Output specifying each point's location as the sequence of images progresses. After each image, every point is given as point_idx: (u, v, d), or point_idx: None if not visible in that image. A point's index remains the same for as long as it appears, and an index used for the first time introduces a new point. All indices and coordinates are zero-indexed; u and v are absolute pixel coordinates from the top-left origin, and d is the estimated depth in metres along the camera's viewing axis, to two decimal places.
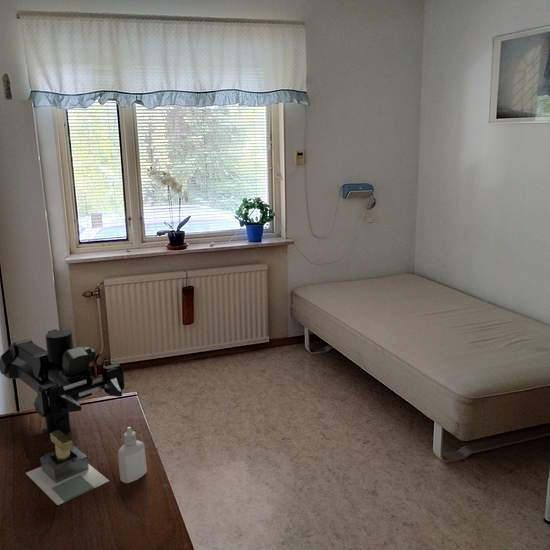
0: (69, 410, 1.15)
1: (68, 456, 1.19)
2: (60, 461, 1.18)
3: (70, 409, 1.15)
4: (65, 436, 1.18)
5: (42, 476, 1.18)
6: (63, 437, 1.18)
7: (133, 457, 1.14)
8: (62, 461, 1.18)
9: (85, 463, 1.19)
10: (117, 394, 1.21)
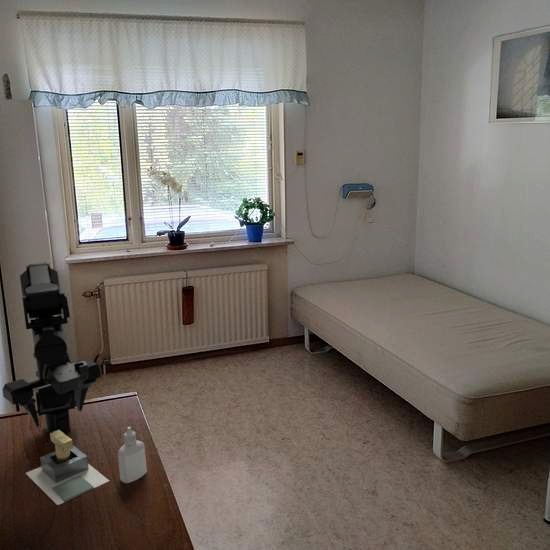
0: (27, 412, 1.14)
1: (68, 456, 1.19)
2: (60, 461, 1.18)
3: (28, 414, 1.14)
4: (65, 436, 1.18)
5: (42, 476, 1.18)
6: (63, 437, 1.18)
7: (133, 457, 1.14)
8: (62, 461, 1.18)
9: (85, 463, 1.19)
10: (77, 404, 1.21)
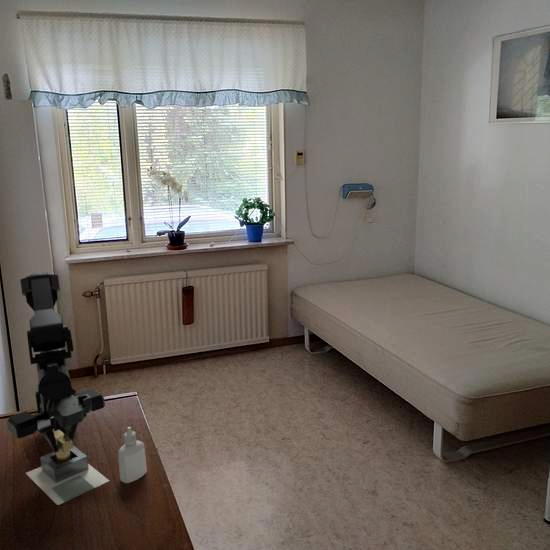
0: (46, 438, 1.18)
1: (68, 456, 1.19)
2: (60, 461, 1.18)
3: (47, 440, 1.17)
4: (65, 436, 1.18)
5: (42, 476, 1.18)
6: (63, 437, 1.18)
7: (133, 457, 1.14)
8: (62, 461, 1.18)
9: (85, 463, 1.19)
10: None
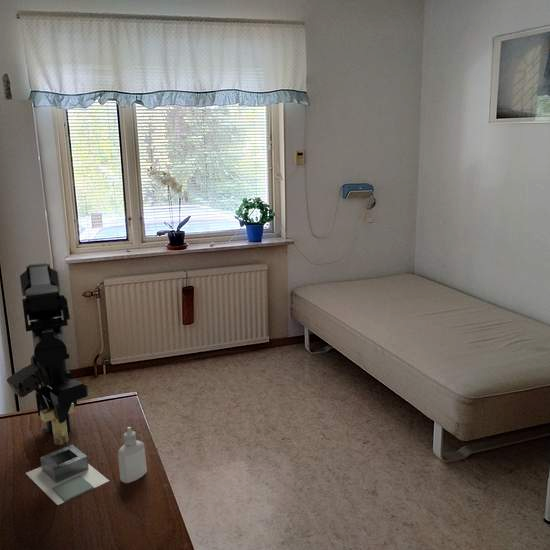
0: None
1: (55, 429, 1.17)
2: None
3: None
4: None
5: (42, 476, 1.18)
6: (53, 409, 1.16)
7: (133, 457, 1.14)
8: None
9: (85, 463, 1.19)
10: None
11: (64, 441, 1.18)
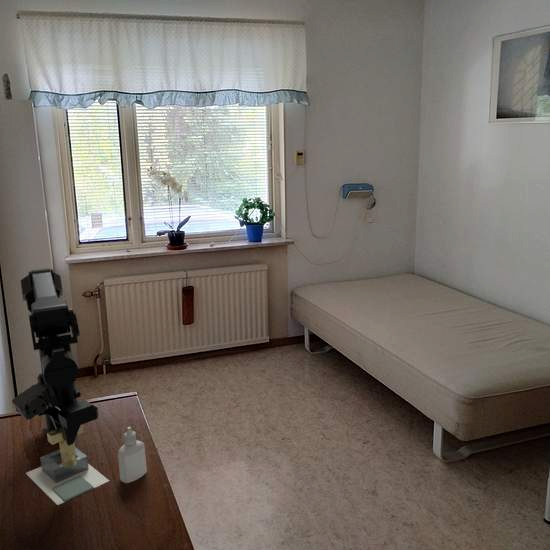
0: None
1: (63, 452, 1.10)
2: None
3: None
4: None
5: (42, 476, 1.18)
6: (61, 430, 1.10)
7: (133, 457, 1.14)
8: None
9: (85, 463, 1.19)
10: None
11: (72, 464, 1.11)
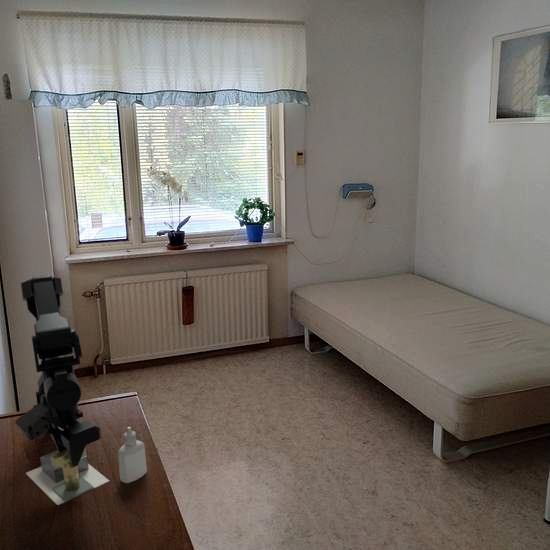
0: None
1: (66, 475, 1.11)
2: None
3: None
4: (66, 454, 1.11)
5: (42, 476, 1.18)
6: (64, 453, 1.11)
7: (133, 457, 1.14)
8: None
9: (85, 463, 1.19)
10: None
11: (75, 487, 1.12)
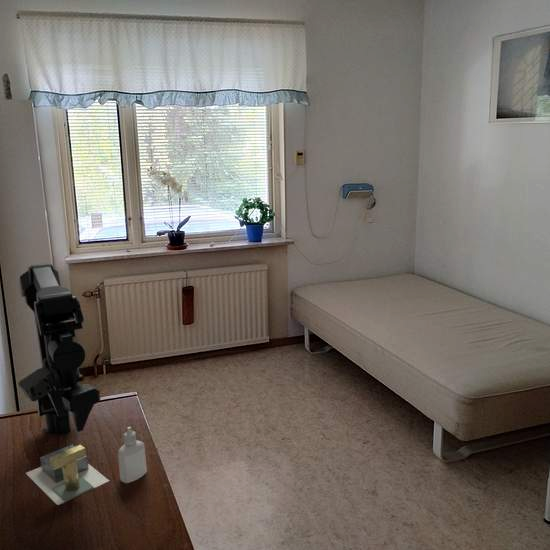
0: None
1: (65, 476, 1.11)
2: None
3: None
4: (65, 455, 1.10)
5: (42, 476, 1.18)
6: (63, 454, 1.11)
7: (133, 457, 1.14)
8: None
9: (85, 463, 1.19)
10: None
11: (75, 487, 1.12)
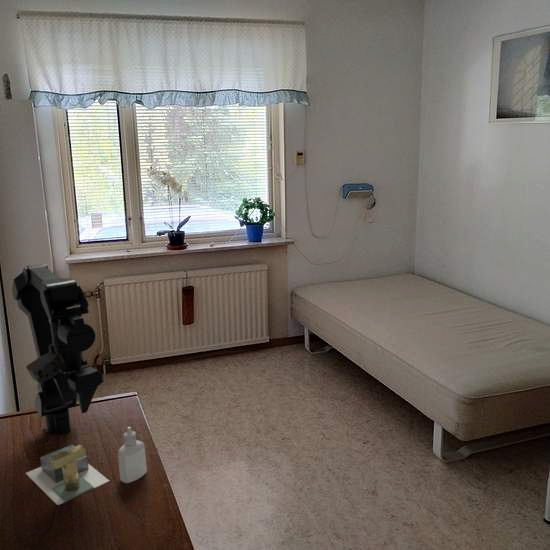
0: None
1: (65, 476, 1.11)
2: None
3: None
4: (65, 455, 1.10)
5: (42, 476, 1.18)
6: (63, 454, 1.11)
7: (133, 457, 1.14)
8: None
9: (85, 463, 1.19)
10: None
11: (75, 487, 1.12)
